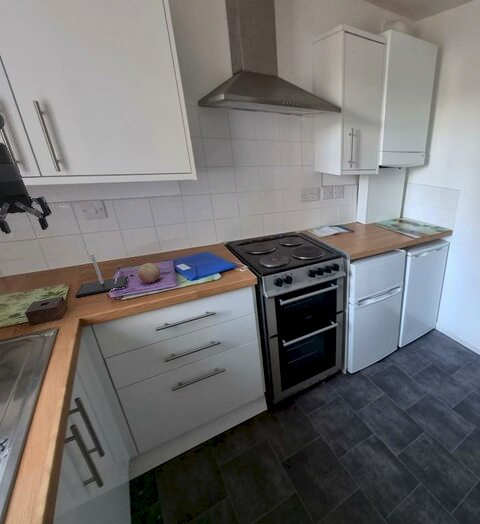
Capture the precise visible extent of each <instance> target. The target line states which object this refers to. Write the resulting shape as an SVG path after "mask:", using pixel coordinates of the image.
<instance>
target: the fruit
mask: <svg viewBox="0 0 480 524" xmlns="http://www.w3.org/2000/svg"><path fill="white" fill-rule="evenodd" d="M137 276H138V278H139V280H140V281H142V282H143V283H146V284H151V282H152V283H154V282H155V280H156V281H157V280H158V279H159V278H160V276H161V269H160V267H159V266H158V265H156V264H155V263H153V262H145V263H144V264H142V265H141V266H140V267H139V269H138V271H137Z"/></svg>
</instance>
